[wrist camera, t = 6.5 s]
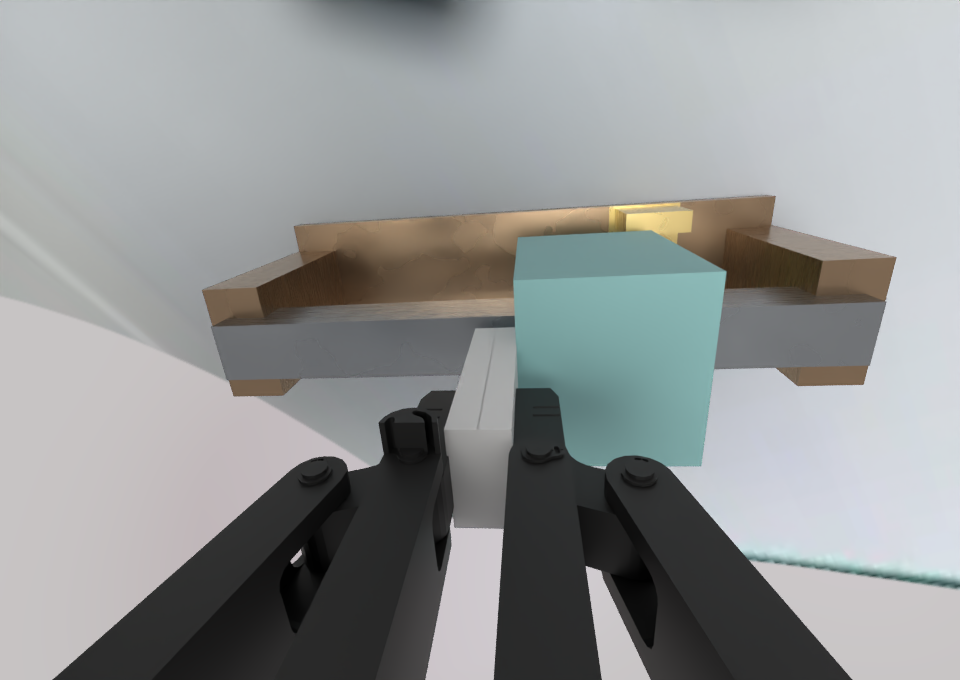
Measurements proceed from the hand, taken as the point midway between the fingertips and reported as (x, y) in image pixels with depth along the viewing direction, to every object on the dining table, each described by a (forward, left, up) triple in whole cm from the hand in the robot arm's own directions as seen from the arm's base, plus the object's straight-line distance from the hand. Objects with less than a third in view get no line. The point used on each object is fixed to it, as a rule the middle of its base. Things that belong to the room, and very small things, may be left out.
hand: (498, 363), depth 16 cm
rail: (+1, 0, -12) cm, 12 cm away
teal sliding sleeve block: (+4, 0, -3) cm, 5 cm away
